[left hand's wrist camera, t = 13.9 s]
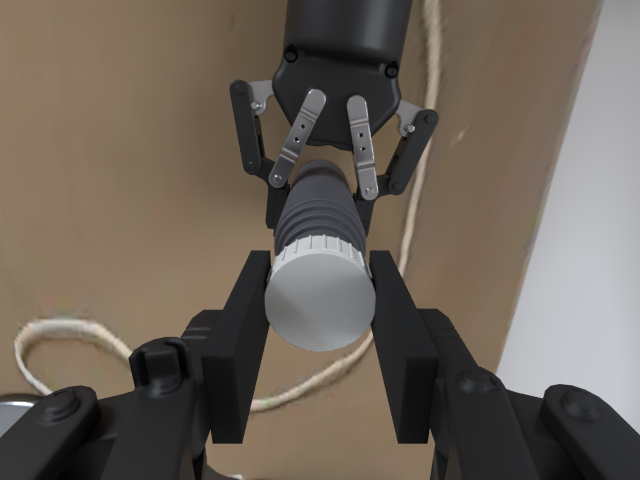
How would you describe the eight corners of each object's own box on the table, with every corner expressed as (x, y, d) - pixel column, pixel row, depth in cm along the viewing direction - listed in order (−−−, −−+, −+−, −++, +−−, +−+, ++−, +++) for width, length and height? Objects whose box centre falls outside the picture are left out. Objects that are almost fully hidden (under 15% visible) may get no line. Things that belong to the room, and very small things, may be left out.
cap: (336, 213, 14) (338, 229, 12) (389, 295, 15) (398, 319, 13) (248, 268, 14) (239, 289, 13) (306, 341, 16) (304, 369, 14)
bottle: (328, 148, 31) (340, 213, 12) (356, 194, 33) (408, 315, 14) (282, 178, 32) (228, 282, 13) (312, 222, 33) (302, 372, 15)
